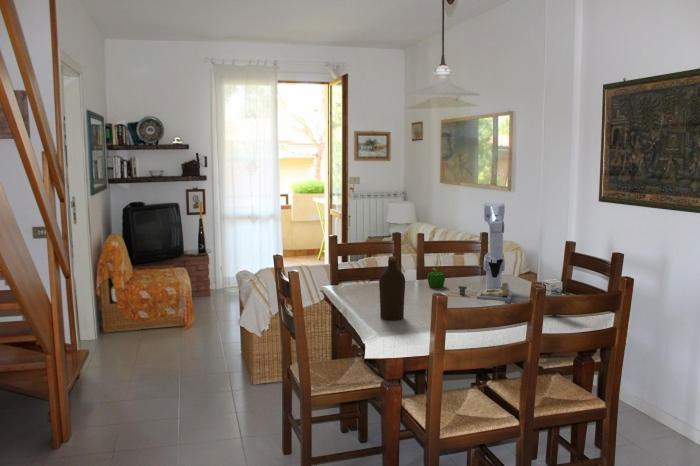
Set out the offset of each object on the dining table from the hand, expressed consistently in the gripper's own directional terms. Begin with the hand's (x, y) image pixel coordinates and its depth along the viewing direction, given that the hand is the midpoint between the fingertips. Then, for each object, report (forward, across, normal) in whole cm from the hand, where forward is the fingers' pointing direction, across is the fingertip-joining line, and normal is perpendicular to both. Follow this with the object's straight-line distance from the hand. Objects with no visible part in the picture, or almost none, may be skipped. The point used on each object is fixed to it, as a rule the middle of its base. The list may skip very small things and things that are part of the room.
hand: (495, 276), depth 288 cm
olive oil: (+10, +52, -35) cm, 64 cm away
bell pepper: (+10, -7, -29) cm, 31 cm away
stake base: (+9, +6, -14) cm, 18 cm away
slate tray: (+10, +5, 0) cm, 11 cm away
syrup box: (+10, +28, +26) cm, 39 cm away
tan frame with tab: (+8, +5, +1) cm, 10 cm away
